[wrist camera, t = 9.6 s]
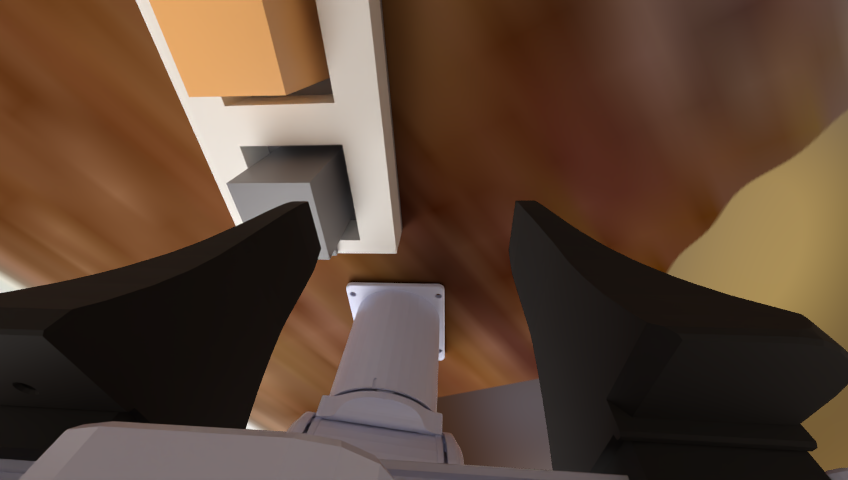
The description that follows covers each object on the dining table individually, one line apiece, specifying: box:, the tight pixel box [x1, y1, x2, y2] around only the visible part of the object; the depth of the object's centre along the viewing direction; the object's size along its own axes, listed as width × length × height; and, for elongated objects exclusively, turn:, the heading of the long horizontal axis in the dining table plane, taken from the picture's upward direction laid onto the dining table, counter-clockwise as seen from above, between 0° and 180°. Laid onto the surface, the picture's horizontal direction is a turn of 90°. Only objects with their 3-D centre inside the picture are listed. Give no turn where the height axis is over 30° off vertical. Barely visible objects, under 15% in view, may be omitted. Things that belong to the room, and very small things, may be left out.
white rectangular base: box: [136, 0, 403, 260], centre depth 16 cm, size 16×10×6 cm, turn 2°
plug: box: [149, 0, 330, 97], centre depth 13 cm, size 4×4×6 cm
